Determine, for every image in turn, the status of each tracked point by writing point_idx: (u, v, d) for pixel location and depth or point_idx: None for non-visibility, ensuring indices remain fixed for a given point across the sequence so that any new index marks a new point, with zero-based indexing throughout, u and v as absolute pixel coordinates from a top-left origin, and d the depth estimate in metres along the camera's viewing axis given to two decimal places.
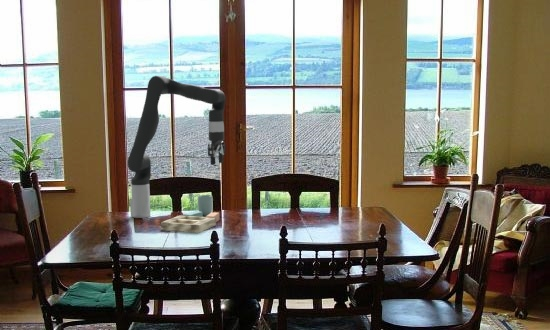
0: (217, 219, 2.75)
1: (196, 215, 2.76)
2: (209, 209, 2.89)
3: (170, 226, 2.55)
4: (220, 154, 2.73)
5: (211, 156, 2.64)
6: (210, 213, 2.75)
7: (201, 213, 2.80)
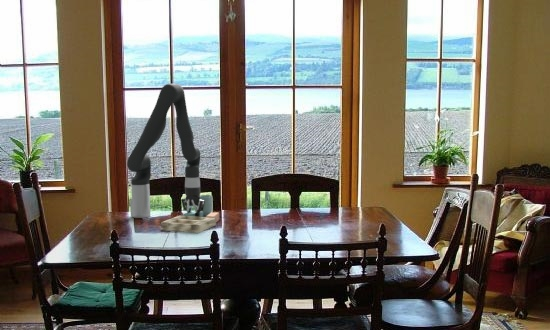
0: (217, 219, 2.75)
1: None
2: (209, 209, 2.89)
3: (170, 226, 2.55)
4: (189, 210, 2.78)
5: (199, 212, 2.75)
6: (210, 213, 2.75)
7: (202, 213, 2.79)
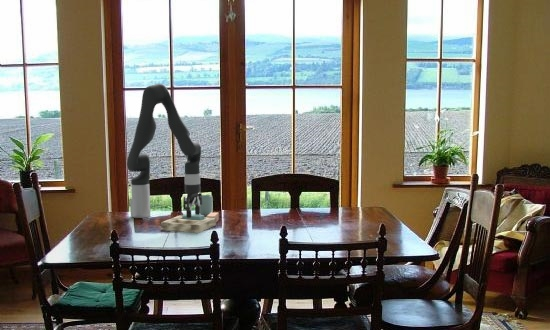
0: (217, 219, 2.75)
1: None
2: (209, 209, 2.89)
3: (170, 226, 2.55)
4: None
5: None
6: (210, 213, 2.75)
7: None
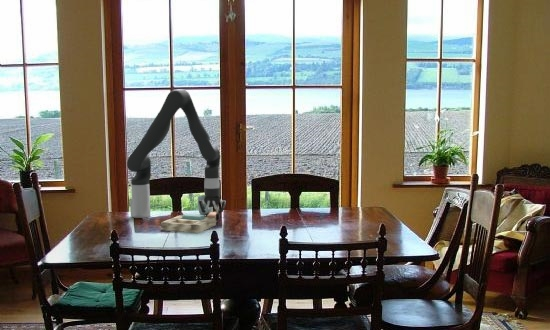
0: None
1: None
2: None
3: (170, 226, 2.55)
4: (208, 212, 2.73)
5: (220, 212, 2.72)
6: (209, 213, 2.75)
7: None
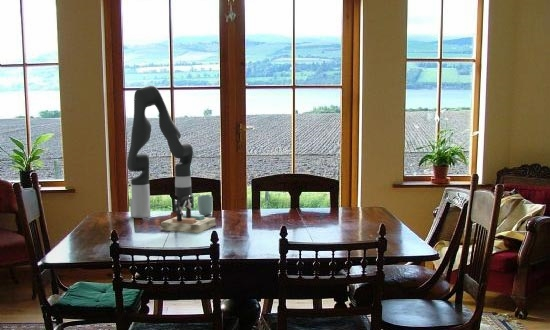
0: None
1: None
2: (209, 209, 2.89)
3: (170, 226, 2.55)
4: None
5: None
6: None
7: None
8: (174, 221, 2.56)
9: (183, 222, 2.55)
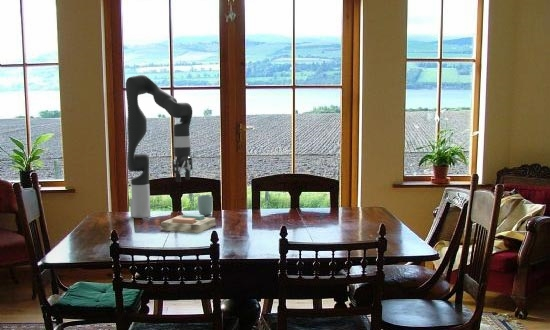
0: None
1: None
2: (209, 209, 2.89)
3: (170, 226, 2.55)
4: None
5: None
6: (178, 219, 2.56)
7: None
8: (174, 221, 2.56)
9: (183, 222, 2.55)
